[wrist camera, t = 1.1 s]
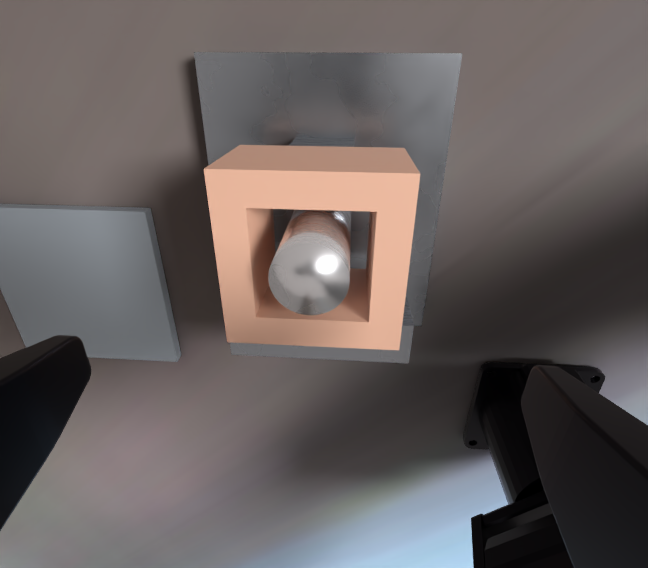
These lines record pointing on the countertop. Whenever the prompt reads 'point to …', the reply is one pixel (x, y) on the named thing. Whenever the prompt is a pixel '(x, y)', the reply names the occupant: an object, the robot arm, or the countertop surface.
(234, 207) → the collar
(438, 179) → the grey plate with rod
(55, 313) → the mat
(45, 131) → the countertop surface
